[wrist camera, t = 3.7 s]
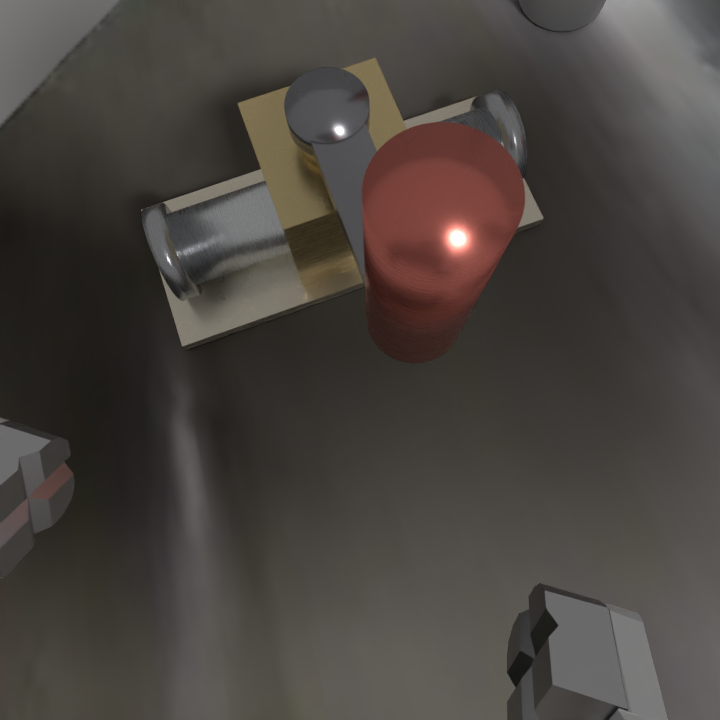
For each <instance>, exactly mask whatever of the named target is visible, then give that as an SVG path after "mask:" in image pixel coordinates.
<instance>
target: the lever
mask: <svg viewBox="0 0 720 720" xmlns="http://www.w3.org/2000/svg"><path fill="white" fill-rule="evenodd" d="M284 110H285V115H286V120H287V124H288V128H289V132H290V135H291V137H292V139H293V141H294V142H295V144H296V145H297V146H298V147H299V148H300V149H301V150H303V151H304V152H306V153H307V154H310V155H312V156H314V158H315V161H316V164H317V166H318V169H319V171H320V174H321V176H322V179H323V181H324V184H325V187H326V189H327V192H328V194H329V197H330V199H331V202H332V204H333V207H334V209H335V212H336V215H337V217H338V220H339V222H340V225H341V227H342V230H343V232H344V235H345V237H346V240H347V243H348V245H349V248H350V250H351V253H352V255H353V258H354V260H355V263H356V266H357V268H358V271H359V273H360V276H361V278H362V281H363V283H364V286H365V291H366V316H367V326H368V330H369V333H370V335H371V338H372V339H373V341H374V343H375V344H376V345H377V346H378V348H379V349H380V350H382V351H383V352H384V353H385V354H387V355H388V356H390V357H392V358H393V359H396V360H398V361H402V362H406V363H423V362H427V361H431V360H433V359H435V358H438V357H439V356H441V355H442V354H444V353H445V352H446V351H447V350H448V349H449V348H450V347H451V346H452V345H453V343H454V342H455V340H456V338H457V336H458V335H459V333H460V331H461V329H462V327H463V326H464V324H465V322H466V320H467V318H468V317H469V315H470V313H471V311H472V309H473V308H474V306H475V304H476V302H477V300H478V299H479V297H480V295H481V293H482V291H483V290H484V288H485V286H486V284H487V282H488V281H489V279H490V277H491V275H492V273H493V272H494V270H495V268H496V266H497V264H498V263H499V261H500V259H501V257H502V255H503V253H504V252H505V250H506V248H507V246H508V244H509V243H510V241H511V239H512V237H513V235H514V234H515V232H516V230H517V228H518V226H519V224H520V221H521V219H522V216H523V212H524V206H525V188H524V183H523V179H522V175H521V173H520V170H519V168H518V166H517V164H516V163H515V161H514V159H513V158H512V156H511V155H510V154H509V152H508V151H507V150H506V149H505V148H504V147H503V146H502V145H501V144H500V143H499V142H497V141H496V140H495V139H494V138H492V137H491V136H489V135H487V134H486V133H484V132H482V131H480V130H478V129H475V128H473V127H470V126H466V125H463V124H458V123H450V122H432V123H426V124H421V125H417V126H414V127H411V128H409V129H406V130H404V131H402V132H400V133H398V134H397V135H395V136H393V137H392V138H391V139H389V140H388V141H387V142H386V143H385V144H384V145H383V146H382V147H380V149H379V150H378V151H377V150H376V148H375V145H374V143H373V141H372V138H371V136H370V134H369V131H368V130H369V125H370V102H369V95H368V92H367V89H366V87H365V86H364V84H363V83H362V82H361V80H360V79H359V78H357V77H356V76H355V75H354V74H352V73H350V72H348V71H346V70H343V69H340V68H335V67H322V68H317V69H313V70H310V71H308V72H306V73H304V74H302V75H301V76H299V77H298V78H297V79H296V80H295V81H294V82H293V83H292V84H291V86H290V87H289V89H288V91H287V93H286V96H285V101H284Z"/></svg>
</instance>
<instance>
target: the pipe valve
mask: <svg viewBox="0 0 720 720" xmlns="http://www.w3.org/2000/svg"><path fill="white" fill-rule="evenodd" d="M343 70H346V71H348V72H350V73H352V74H354V75H355V76H356V77H357V78H359V79H360V80H361V82H362V83H363V84H364V86H365V87H366V89H367V92H368V95H369V102H370V125H369V130H368V131H369V134H370V136H371V138H372V141H373V143H374V145H375V148H376V150H377V151H378V150H379V149H380V147H382V146H383V145H384V144H385V143H386V142H387V141H388V140H389V139H391V138H392V137H393V136H395V135H397V134H398V133H400V132H402V131H404V130H406V129H409V128H411V127H414V126H417V125H421V124H426V123H432V122H450V123H458V124H463V125H466V126H470V127H473V128H475V129H478V130H480V131H482V132H484V133H486V134H487V135H489V136H491V137H492V138H494V139H495V140H496V141H497V142H499V143H500V144H501V145H502V146H503V147H504V148H505V149H506V150H507V151H508V152H509V154H510V155H511V156H512V158H513V159H514V161H515V163H516V164H517V166H518V168H519V170H520V173H521V175H522V179H523V183H524V188H525V206H524V212H523V216H522V219H521V221H520V224H519V226H518V228H517V230H516V232H515V234H516V233H518V232H521V231H524V230H527V229H530V228H532V227H535V226H538V225H540V224H541V222H542V221H543V219H544V218H543V216H542V214H541V212H540V210H539V208H538V206H537V204H536V202H535V200H534V198H533V195H532V193H531V191H530V189H529V187H528V185H527V183H526V181H525V179H524V176H525V173H526V169H527V160H528V151H527V141H526V135H525V130H524V126H523V123H522V120H521V117H520V114H519V112H518V110H517V108H516V106H515V104H514V102H513V101H512V99H511V98H510V97H509V96H508V95H507V94H506V93H505V92H503V91H501V90H494V91H491V92H488V93H485V94H482V95H479V96H476V97H473V98H470V99H467V100H464V101H461V102H458V103H455V104H452V105H449V106H447V107H444V108H441V109H438V110H435V111H432V112H429V113H426V114H423V115H420V116H417V117H414V118H411V119H408V120H405V121H403V119H402V116H401V114H400V112H399V110H398V107H397V105H396V103H395V101H394V98H393V96H392V94H391V92H390V89H389V87H388V85H387V83H386V80H385V78H384V76H383V74H382V71H381V69H380V67H379V65H378V62H377V60H376V58H373V59H370V60H367V61H364V62H361V63H358V64H355V65H352V66H349V67H346V68H343ZM289 87H290V86H288V87H285V88H282V89H279V90H276V91H273V92H270V93H267V94H264V95H261V96H258V97H255V98H252V99H249V100H245V101H242V102H239V103H237V104H238V106H239V109H240V112H241V115H242V118H243V121H244V123H245V126H246V129H247V132H248V135H249V138H250V140H251V143H252V146H253V149H254V152H255V155H256V157H257V160H258V163H259V166H260V170H257V171H254V172H251V173H248V174H245V175H242V176H239V177H236V178H233V179H230V180H227V181H224V182H221V183H218V184H215V185H212V186H210V187H207V188H204V189H201V190H198V191H195V192H192V193H189V194H186V195H183V196H180V197H177V198H174V199H171V200H168V201H165V202H162V203H159V204H156V205H153V206H150V207H147V208H144V209H141V211H142V223H143V227H144V231H145V235H146V238H147V241H148V244H149V247H150V249H151V252H152V254H153V257H154V259H155V261H156V263H157V266H158V268H159V271H160V274H161V278H162V281H163V284H164V288H165V291H166V294H167V298H168V301H169V304H170V308H171V311H172V314H173V318H174V321H175V324H176V328H177V331H178V334H179V338H180V341H181V344H182V347H183V348H185V349H186V350H188V349H191V348H194V347H197V346H200V345H203V344H205V343H208V342H211V341H214V340H217V339H219V338H222V337H225V336H228V335H231V334H234V333H236V332H239V331H242V330H245V329H248V328H250V327H253V326H256V325H259V324H262V323H265V322H267V321H270V320H273V319H276V318H279V317H281V316H284V315H287V314H290V313H293V312H296V311H298V310H301V309H304V308H307V307H310V306H312V305H315V304H318V303H321V302H324V301H327V300H329V299H332V298H335V297H338V296H341V295H344V294H346V293H349V292H352V291H355V290H358V289H360V288H363V287H365V286H364V283H363V281H362V278H361V276H360V273H359V271H358V268H357V266H356V263H355V260H354V258H353V255H352V253H351V250H350V248H349V245H348V243H347V240H346V237H345V235H344V232H343V230H342V227H341V225H340V222H339V220H338V217H337V215H336V212H335V209H334V207H333V204H332V202H331V199H330V197H329V194H328V192H327V189H326V187H325V184H324V181H323V179H322V176H321V174H320V171H319V169H318V166H317V164H316V161H315V158H314V156H312V155H310V154H307V153H306V152H304V151H303V150H301V149H300V148H299V147H298V146H297V145H296V144H295V142H294V141H293V139H292V137H291V135H290V132H289V128H288V124H287V120H286V115H285V110H284V101H285V96H286V93H287V91H288V89H289Z"/></svg>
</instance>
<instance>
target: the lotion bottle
mask: <svg viewBox="0 0 720 720" xmlns="http://www.w3.org/2000/svg"><path fill="white" fill-rule="evenodd" d="M605 1H606V0H519V3H520V6H521V8H522V10H523V12H524V13H525V15H526V16H527V17H528V18H529V19H530V20H531V21H532V22H534V23H535V24H537V25H539V26H541V27H543V28H545V29H548V30H553V31H572V30H576V29H579V28H581V27H583V26H585V25H587V24H588V23H590V22H591V21H592V20H593V19H594V18H595V17H596V16H597V15H598V13H599V12H600V10H601V9H602V7H603V5H604V3H605Z"/></svg>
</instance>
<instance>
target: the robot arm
mask: <svg viewBox="0 0 720 720" xmlns="http://www.w3.org/2000/svg"><path fill="white" fill-rule="evenodd" d="M70 456H71V453H70V447H69V442H68V440H65V439H63V438H61V437H58V436H55V435H52V434H49V433H46V432H43V431H40V430H37V429H34V428H31V427H28V426H25V425H22V424H19V423H16V422H13V421H10V420H7V419H3V418H0V577H1V578H5V577H6V575H7V574H8V573H9V572H10V571H11V570H12V569H13V568H14V567H15V566H16V565H17V564H18V563H19V562H20V560H21V559H22V558H23V557H24V556H25V555H26V554H27V553H28V552H29V551H30V550H31V549H32V548H33V547H34V538H35V533H37V532H39V531H42V530H44V529H46V528H49V527H51V526H53V525H54V524H55V523H56V522H57V520H58V519H59V518H60V517H61V516H62V515H63V514H64V512H65V510H66V509H67V507H68V505H69V503H70V501H71V499H72V497H73V492H74V486H75V482H74V474H73V473H72V471H71V470H70V469H69V467H68V466H67V465H66V464H65V461H66V460H67V459H68V458H69V457H70ZM507 674H508V676H509V677H510V679H511V681H512V683H513V684H514V686H515V690H514V692H513V693H512V695H511V696H510V698H509V700H508V701H507V720H668V719H667V715H666V711H665V707H664V703H663V699H662V695H661V691H660V687H659V683H658V679H657V675H656V671H655V667H654V663H653V660H652V656H651V652H650V648H649V644H648V640H647V636H646V632H645V628H644V624H643V620H642V619H641V617H640V616H639V614H638V613H637V612H634V611H630V610H627V609H624V608H620V607H617V606H614V605H611V604H607V603H602V602H601V601H599V600H596V599H592V598H589V597H585V596H582V595H578V594H575V593H572V592H568V591H565V590H561V589H558V588H555V587H551V586H548V585H544V584H541V583H539V584H538V585H536V586H535V587H534V588H533V590H532V592H531V593H530V595H529V610H526V611H524V612H521V613H519V615H518V617H517V619H516V621H515V623H514V624H513V627H512V631H511V634H510V638H509V642H508V651H507Z"/></svg>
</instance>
